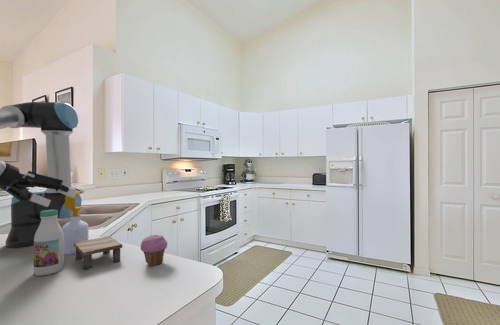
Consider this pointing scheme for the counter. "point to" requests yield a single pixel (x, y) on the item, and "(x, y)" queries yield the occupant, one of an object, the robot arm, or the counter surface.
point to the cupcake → (154, 249)
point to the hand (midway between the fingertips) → (61, 199)
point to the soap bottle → (73, 227)
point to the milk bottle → (48, 245)
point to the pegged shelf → (96, 249)
